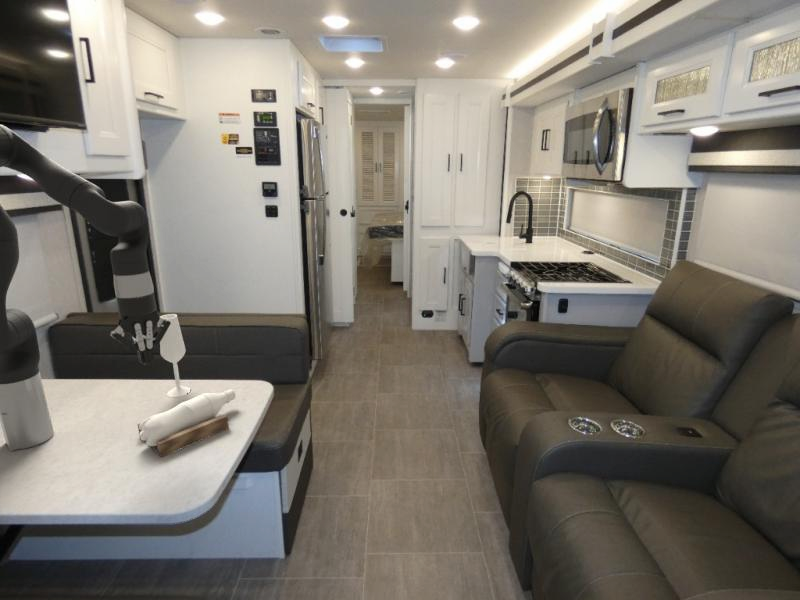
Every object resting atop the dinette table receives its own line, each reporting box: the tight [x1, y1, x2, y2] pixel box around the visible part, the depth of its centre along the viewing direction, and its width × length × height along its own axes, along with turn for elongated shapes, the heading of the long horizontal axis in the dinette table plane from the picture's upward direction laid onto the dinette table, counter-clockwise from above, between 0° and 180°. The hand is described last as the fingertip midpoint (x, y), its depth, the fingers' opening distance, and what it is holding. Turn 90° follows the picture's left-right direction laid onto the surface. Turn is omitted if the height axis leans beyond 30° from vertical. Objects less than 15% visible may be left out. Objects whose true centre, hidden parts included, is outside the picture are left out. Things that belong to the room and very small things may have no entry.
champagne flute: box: [159, 313, 191, 398], centre depth 139 cm, size 7×7×24 cm
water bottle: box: [139, 388, 236, 447], centre depth 121 cm, size 7×7×25 cm
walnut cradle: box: [137, 413, 230, 458], centre depth 120 cm, size 17×13×4 cm
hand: (147, 363), depth 110 cm, fingers closed
